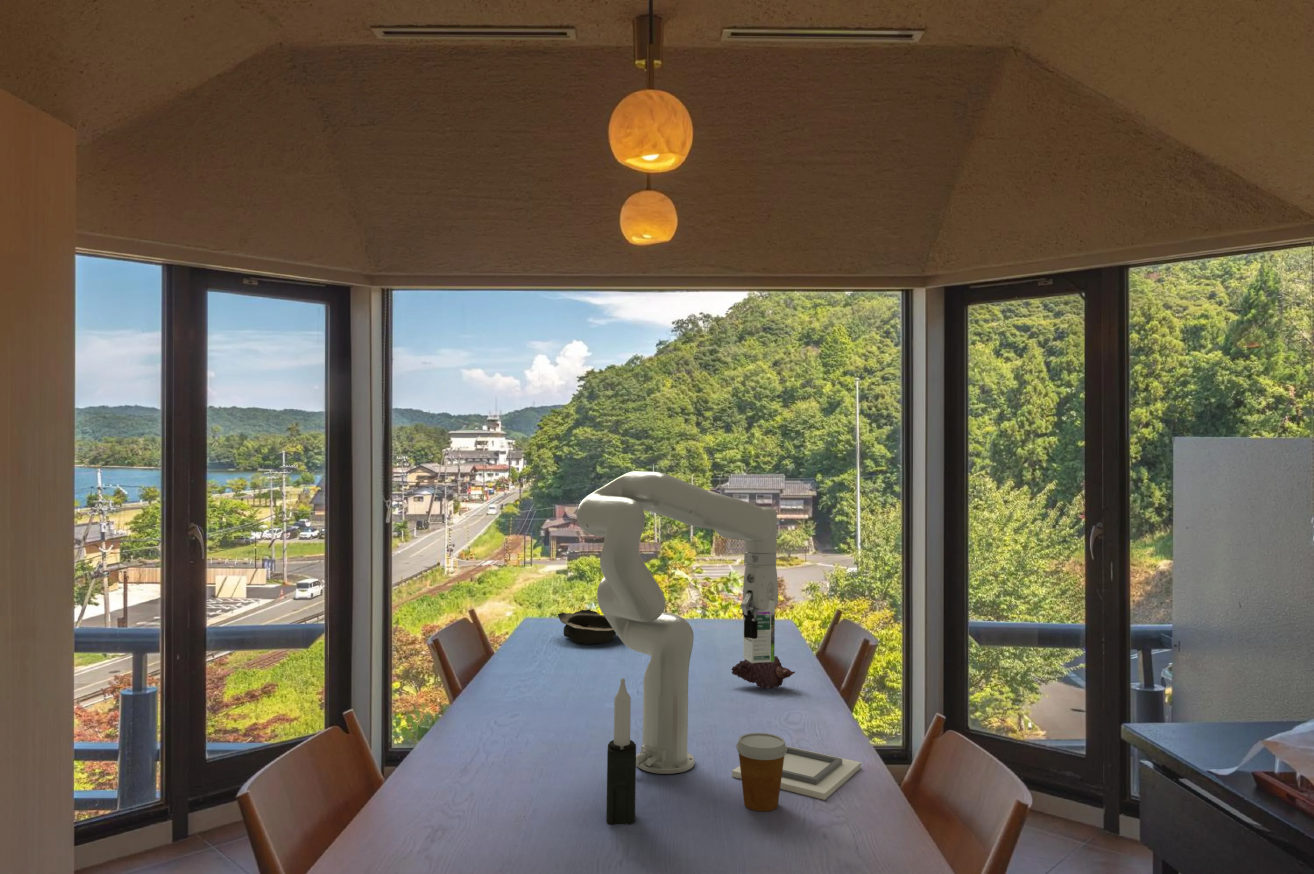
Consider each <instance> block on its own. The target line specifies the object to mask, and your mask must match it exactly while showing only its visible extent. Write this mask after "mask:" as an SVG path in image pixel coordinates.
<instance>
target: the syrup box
mask: <svg viewBox="0 0 1314 874" xmlns="http://www.w3.org/2000/svg"><path fill="white" fill-rule="evenodd" d="M750 607H755V605H754V602H753V600H752V601H751V605H750ZM751 612H752V614H753V612H754V611H753V610H752V611H751ZM775 615H776V606H775V600H773V599H771V600H769V606H768V609H766V610H763V611H761V610H759V611H758V614H757V618H756V621H758V630H757V638H756V639H753V638H746V637H744V630H743V632H742V633H743V641H742V644H743V645H742V646H743V647H742V648H743V650H742V651H743V656H742V657H743V659H744V660H745V659H746V660H747V661H749V662H751V663H761V662H774V656H775V642H776V641H775V637H776V636H775V634H776V633H775V632H776V631H775V630H776V629H775V627H776V625H775V623H776V619H775V618H776V616H775Z"/></svg>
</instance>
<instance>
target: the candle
mask: <svg viewBox="0 0 1314 874" xmlns="http://www.w3.org/2000/svg"><path fill="white" fill-rule="evenodd" d="M625 682H626V679H625V678H621V679H620V685H619V687H618V690H617V693H616V694H615V696H614V700H613V702H614V706H613V707H614V709H613V711H614V715H613V739H612V740H610V741H609V743H608V744H607V753H606V754H607V759H606V761H607V762H606V814H605V815H606V816H605V817H606V819H605V820H606V821H605V822H606V823H607V824H609V825H634V824H635V822H636V781H637V779H636V777H637V775H636V773H637V766H636V755H637V744H636V743H635V741H633V740H631V707H632V706H631V703H632V699H631V695H630V694H629V692H628V690H627V686H626V683H625Z"/></svg>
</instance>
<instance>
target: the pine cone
mask: <svg viewBox="0 0 1314 874" xmlns="http://www.w3.org/2000/svg"><path fill="white" fill-rule="evenodd" d="M780 661H781V660H780V659H779V658H778V656H776V655H774V662H761V663H751V662H749V661H747V660H746V659H745V658H744V660H740V661H739V662H738V663H737V664H735V665H734V666H732V668H731V673H732V675H734V676H737V677H738V678H741V679H742V680H744V681H746V682H748V683H751V684H756V686H757V687H759V688H762V689H771V690H772V689H774V688H776V687H777V688H778V687H781V686H783V682H784V680H785V679H787V678H790V677H791V676H792V675H795V673H796V671H792V670H790V669H789V668H786V667H783V666H782V663H781V662H780Z"/></svg>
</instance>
